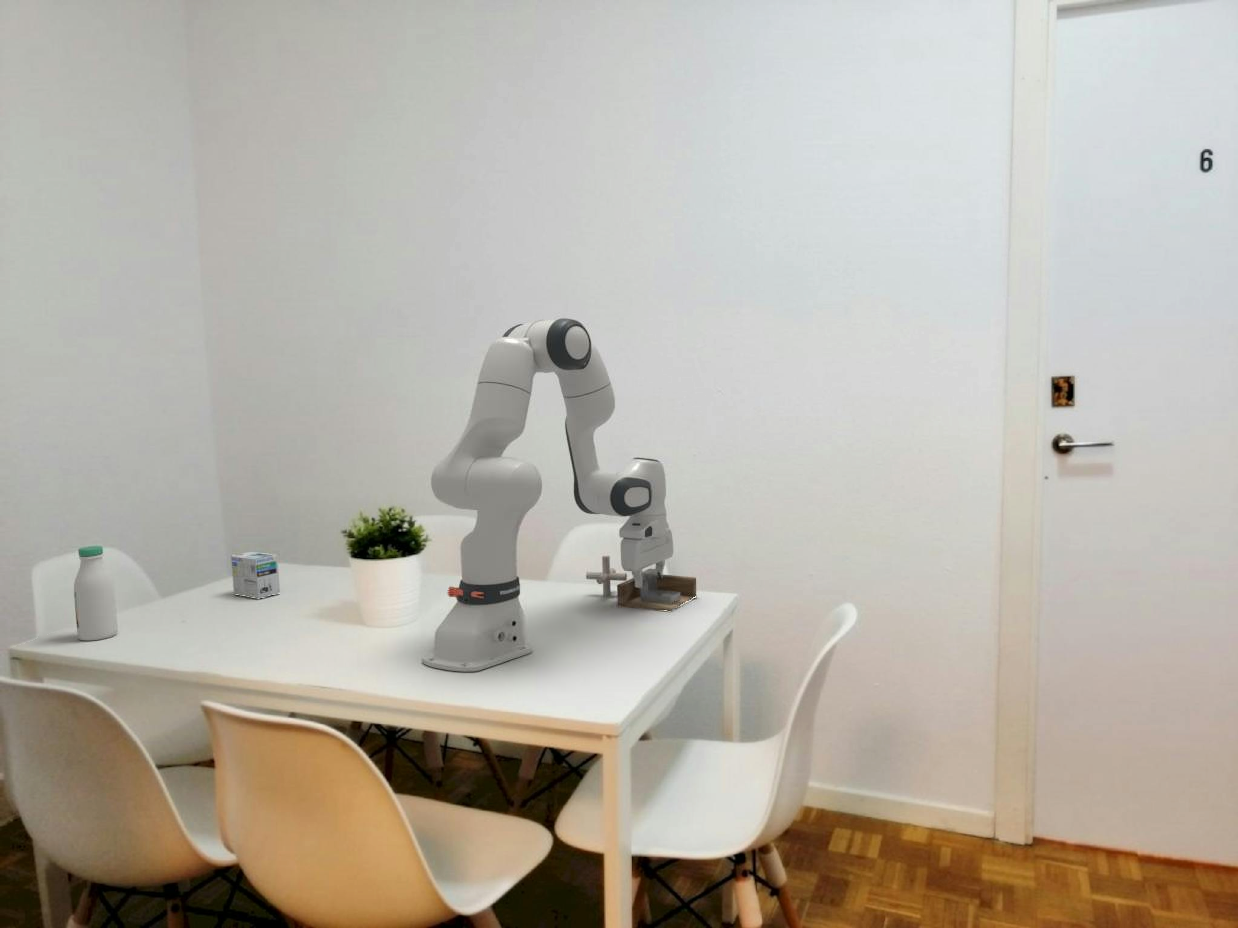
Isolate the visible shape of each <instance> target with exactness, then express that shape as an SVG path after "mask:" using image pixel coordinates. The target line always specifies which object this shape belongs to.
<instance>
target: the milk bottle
mask: <svg viewBox="0 0 1238 928" xmlns="http://www.w3.org/2000/svg"><path fill="white" fill-rule="evenodd" d="M78 556H79V558H78V559H80V560H79V561H80V564H79V565H80V566H79V568H78V571H77V574H76V577H75V579H74V583H73V597H74V599H73V600H74V608H75V609H74V610H75V611H74V612H75V619H76V620H75V622H76V630H77V631H76V632H77V638H78V640H80V641H87V642H88V641H100V640H104V639H109V638H111V637H114V636H116V635H117V634H118V632H119V631H118V616H117V607H116V595H115V585H114V582H113V578H112V576H111V573H110V572H109V571H108V569H107V568H106V567H107V566H106V565H105V563H104V560H103V556H104V549H103V547H102V546H101V545H92V546H91V545H90V546H84V547H80V548H78Z"/></svg>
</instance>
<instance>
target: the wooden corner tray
mask: <svg viewBox="0 0 1238 928" xmlns="http://www.w3.org/2000/svg"><path fill="white" fill-rule="evenodd" d="M658 590H666V591H675V592H680V601H678V602H676V603H674V604H673V605H665V604H656V603H647V602H641V589H640V588H637V587H635V580H634V578H633V577H632V578H630V579H628V580H626V581H622V582H621V583H618V584H616V591H617V592H616V594H617V595H616V596H617V606H618V607H625V608H633V607H635V608H634V609H641V608H642V610H643V609H644V610H650V609H653V610H652V611H658V610H667V611H672V610H673V609H675V608H676V607H678V606H680V605H681V604H683V603H685V602H686V601H689V600H691V599H692V598H693V597H695V596H696V597H697V577H694V576H693V577H692V576H691V577H690V576H681V575H672V574H663V578H661V579H659V580H658ZM675 610H676V609H675ZM667 611H666V612H667ZM672 612H673V611H672Z"/></svg>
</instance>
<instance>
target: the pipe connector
mask: <svg viewBox="0 0 1238 928" xmlns="http://www.w3.org/2000/svg"><path fill="white" fill-rule="evenodd" d="M610 557H611V556H610V555H602V556H601V562H602V572H598V571H596V572H595V571H594V572H593V571H587V572H586V573H585V578H586V579H587V580H595V581H596V583H597V584H598V585H602V593H603V595H602V596H603V598H609V597H611V581H622V582H625V581H627V579H628V574H627V573H626V572H625V573H624V572H623V573H622V572H616V569H615V568H613V567H610V565H611V564H610V563H611V562H610Z"/></svg>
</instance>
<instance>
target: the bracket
mask: <svg viewBox="0 0 1238 928" xmlns="http://www.w3.org/2000/svg"><path fill="white" fill-rule="evenodd" d="M641 575H642V579H644V586H643V587H641V588H640V589H641V602H647V603H656V604H665V605H673V604H674V603H676V602H678V601H680V592H675V591H666V590H658V578H657V569H655V568H648V569H645V570H642V573H641Z"/></svg>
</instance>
